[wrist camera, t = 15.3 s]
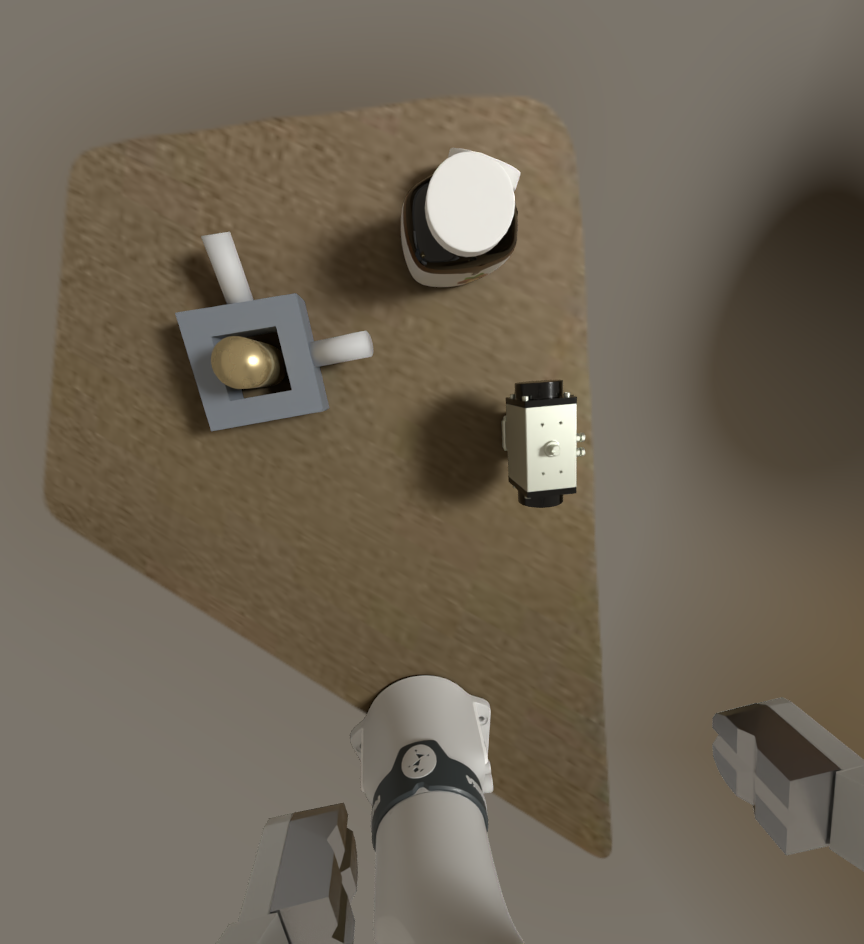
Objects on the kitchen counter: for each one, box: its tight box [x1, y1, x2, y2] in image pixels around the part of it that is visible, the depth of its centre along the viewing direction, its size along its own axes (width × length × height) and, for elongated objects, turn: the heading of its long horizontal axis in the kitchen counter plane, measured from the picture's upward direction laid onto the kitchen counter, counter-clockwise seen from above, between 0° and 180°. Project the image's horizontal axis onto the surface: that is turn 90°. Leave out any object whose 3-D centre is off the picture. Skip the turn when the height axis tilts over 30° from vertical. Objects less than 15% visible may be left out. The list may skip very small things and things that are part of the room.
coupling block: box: [175, 232, 373, 431], centre depth 40 cm, size 17×17×6 cm
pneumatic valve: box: [501, 380, 585, 508], centre depth 42 cm, size 6×12×12 cm, turn 4°
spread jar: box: [401, 148, 520, 287], centre depth 36 cm, size 12×11×12 cm
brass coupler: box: [211, 336, 287, 389], centre depth 39 cm, size 4×4×8 cm
